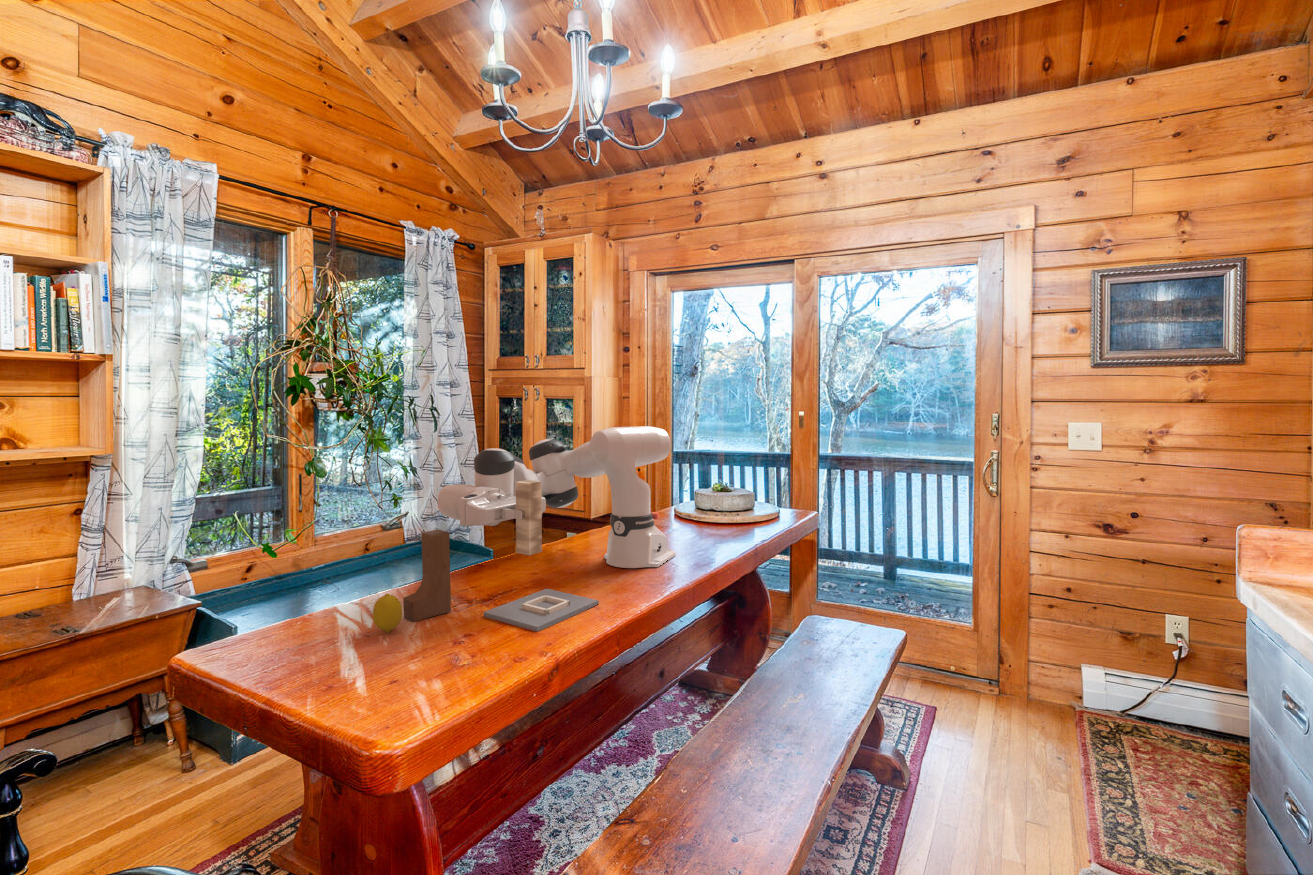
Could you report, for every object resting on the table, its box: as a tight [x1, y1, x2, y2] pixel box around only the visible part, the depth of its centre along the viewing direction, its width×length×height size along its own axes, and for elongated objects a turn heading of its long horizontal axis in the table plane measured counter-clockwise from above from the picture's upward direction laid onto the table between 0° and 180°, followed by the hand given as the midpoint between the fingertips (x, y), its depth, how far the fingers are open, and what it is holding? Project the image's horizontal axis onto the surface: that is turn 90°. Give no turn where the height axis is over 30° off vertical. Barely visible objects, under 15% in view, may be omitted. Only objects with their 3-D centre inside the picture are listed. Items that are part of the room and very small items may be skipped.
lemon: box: [372, 593, 403, 634], centre depth 129 cm, size 6×6×8 cm
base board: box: [482, 588, 600, 633], centre depth 143 cm, size 20×16×2 cm
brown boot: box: [402, 529, 452, 623], centre depth 139 cm, size 9×4×18 cm, turn 137°
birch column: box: [515, 480, 543, 556], centre depth 143 cm, size 4×4×16 cm
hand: (531, 513), depth 143 cm, fingers closed on birch column, 4 cm apart
